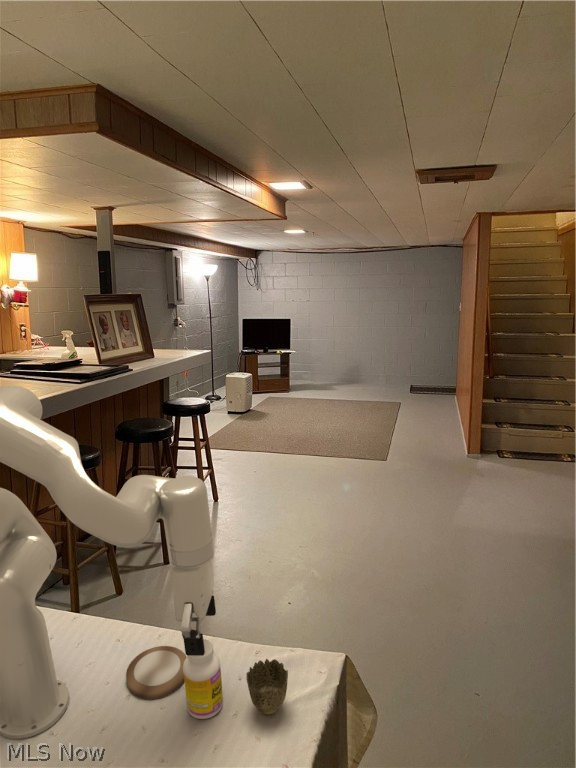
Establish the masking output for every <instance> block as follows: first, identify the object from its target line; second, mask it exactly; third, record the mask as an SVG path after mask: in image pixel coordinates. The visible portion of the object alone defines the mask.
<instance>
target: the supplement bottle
mask: <svg viewBox="0 0 576 768" xmlns="http://www.w3.org/2000/svg"><path fill="white" fill-rule="evenodd" d="M203 641H204V649H205V653H204V655H203V656H188V655H186V657H187V658H186V659H185V661H184V664H183V674H184V683H183V684H184V689H185V691H184V692H185V700H186V709H187V711H188V714H189V715H190V716H192V717H193V718H195V719H199V720H206V719H210V718H212V717H214V716H216V715H217V714H218V713H219V712H220V711H221V709H222V707H223V704H224V696H223V694H224V693H223V684H222V671H221V661H220V657H219V656H218V654H217V653H216V652H214V651H215V650H214V644H213V643H212V641H210V640H208V639H204V638H203Z"/></svg>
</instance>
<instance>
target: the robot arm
mask: <svg viewBox="0 0 576 768" xmlns="http://www.w3.org/2000/svg"><path fill="white" fill-rule="evenodd" d="M42 416H43V405H42V403H41V400H40V398H39V397H38V396H37V395H36V393H34V392H33V391H31V390H29V389H28V388H27V387H23V386H19V385H3V386H0V463H2V464H3V465H6V466H8V467H10V468H12V469H13V470H15V471H17V472H19V473H20V474H21V473H22V474H23V475H25V476H26V477H28V478H30V479H32V480H34V481H35V482H37V483H39V484H41V485H42V486H44V487H45V488H46V489H47V491H48V492H49V494H50V496H51V498H52V499H53V501H54V503H55V504H56V506H57V507H58V508H59V509H60V511H61V512H62V513H63V514H64V515H65V517H67V519H68V520H70V522H71V523H72V524H74V525H75V526H76V527H78V528H79V529H81V530H82V531H84V532H86V533H88V534H90V535H92V536H94V537H96V538H98V539H100V540H102V541H103V542H105V543H108V544H110V545H113V546H116V547H120V548H135V547H137V546H140V545H141V544H143V543H144V542H145V541H146V540H148V539H149V537H150V536H151V534H152V531H153V530H154V528H155V525H156V524H157V523H156V522H157V520H159V519H161V520H162V521H163V526H164V532H165V539H166V547H167V553H168V560H169V564H170V565H171V566H172V595H173V607H174V616H175V617H174V618H175V620H176V622H178V623H181V626H180V632H181V636H182V640H183V645H184V654H185V655H186V656H187V655H188V656H203V655H204V653H205V649H204V641H203V639H204V634H203V633H201V632H202V631H201V630H202V629H201V628H202V621H203V620H204V619H205V618H206V617H214V616H216V614H217V612H216V611H217V610H216V600H215V595H214V587H215V581H214V572H213V564H212V560H213V558H214V557H215V550H214V549H215V548H214V542H213V541H214V539H213V532H212V523H211V515H210V505H209V504H210V503H209V498H208V491H207V490H208V489H207V485H206V483H205V482H204V480H202V479H201V478H198V477H197V476H192V475H191V476H190V475H189V476H188V475H186V476H179V477H175V478H173V477H165V476H164V477H163V476H159V475H157V476H156V475H152V474H151V475H149V474H140V475H135V476H133V477H130V478H129V479H127V481H126V482H125V483H124V484H123V486H122V488H121V489H120V490H119V492H118V493H117V495H116V496H115V495H113V494H111V493H109V492H107V491H105V490H104V489H102V487H100V486H99V485H97V484H96V483H95V482H94V481H92V479H91V478H90V476H88V474H87V472H86V471H85V468H84V466H83V463H82V459H81V454H80V447H79V442H78V441H77V439H76V438H74V437H73V436H71V435H70V434H67V433H65V432H63V431H62V430H61V429H58V428H56V427H54V426H53V425H51V424H49V423H47V422H45V421H44V420H42ZM47 533H48V532H46V531H45V529H43V527H42V525H41V523H39V522H38V520H37V519H36V517H35V516H34V515H33V513H32V512H31V511H30V510H29V508H28V507H27V506H26V505H25V504H24V502H23V501H22V500H21V498H19V497H18V496H17V495H16V494H15V493H13V492H11V490H8V489H5V488H3V487H0V735H1V736H3V737H5V738H8V739H16V740H17V739H26V738H30V737H33V736H36V735H38V734H40V733H43V732H44V731H46V730H48V729H49V728H51V727H52V726H53V725H54V724H55V723H57V722H58V721H59V720H60V719H61V718H62V716H63V715H64V714H65V712H66V709H68V706H69V703H70V692H69V689H68V687H67V685H66V683H64V682H63V681H61V680H60V679H57V673H56V668H55V664H54V659H53V653H52V647H51V644H50V638H49V633H48V627H47V623H46V619H45V616H44V614H43V612H42V611H41V610H40V609H39V608H38V607H37V605H36V598H37V594H38V592H39V591H40V590H41V588H42V586H43V584H44V582H45V581H46V579H47V578H48V577H49V575H50V574H51V571H52V570H53V569H54V567H55V565H56V563H57V559H58V558H57V557H58V555H57V549H56V546H55V544H54V542H53V541H52V539H51V537H50V536H49V535H48V534H47ZM193 614H194V615H195V616H196V617H194V616H193ZM192 622H196V624H195V629H192Z"/></svg>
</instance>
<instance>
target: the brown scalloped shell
mask: <svg viewBox="0 0 576 768" xmlns="http://www.w3.org/2000/svg"><path fill="white" fill-rule="evenodd" d="M248 670H249V671H247V672H246V677H245V678H246V679H245V680H246V682H247V687H248V692H249V696H250V699H251V702H252V704H253V705H254V706H255V708H256V709H258V710H259V712H260V713H261V714H262V715H263V716H266V717H272V716H274V715H276V714H277V712H278V711H279V708H281V706H282V704H284V701H285V699H286V696H287V690H288V679H289V674H288V673H289V670H288V669H285V666H284V664H283V663H282V662H279V661H278V660H277V659H276V658H275V659H274V658H273V659H272V660H271V661H270V660H269V659H268V658H265V661H264V662H263V661H262V660H261V659H260V660H258V662H254V665H253V666H250V667H249V669H248Z"/></svg>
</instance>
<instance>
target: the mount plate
mask: <svg viewBox="0 0 576 768" xmlns="http://www.w3.org/2000/svg"><path fill="white" fill-rule="evenodd" d="M186 658H187V655H186V654H185V651H183V650H182V649H179V648H177V647H175V646H171V645H159V646H154V647H151V648H149V649H146V650H144V651H142V652H141V653H139V654H138V655H136V656H135V657H134V658H133V659H132V660H131V661H130V663H129V664H128V666H127V669H126V672H125V679H126V684H127V688H128V690H129V691H130V693H131V694H132V695H134V697H137V698H139V699H144V700H156V699H158V700H159V699H162V698H165V697H167V696H170V695H171V694H173V693H175V692H176V691H178V690H179V689H180V688H182V686H183V685H184V684H185V683H184V674H183V664H184V661H185V659H186Z"/></svg>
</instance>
